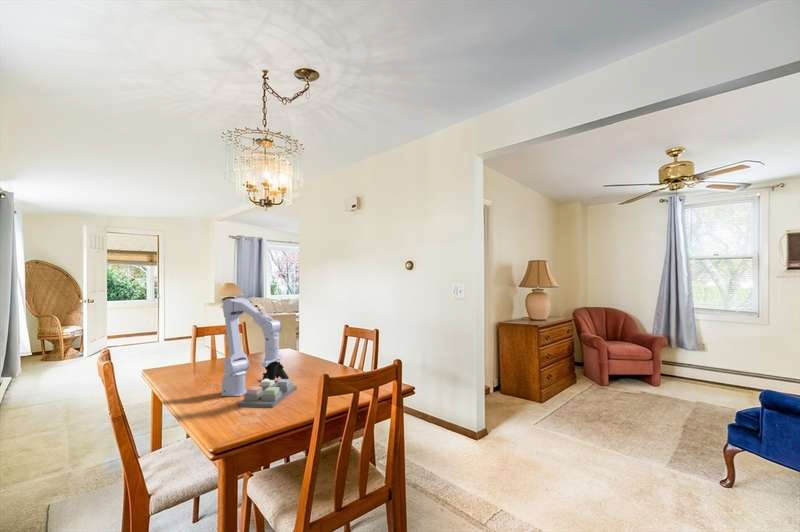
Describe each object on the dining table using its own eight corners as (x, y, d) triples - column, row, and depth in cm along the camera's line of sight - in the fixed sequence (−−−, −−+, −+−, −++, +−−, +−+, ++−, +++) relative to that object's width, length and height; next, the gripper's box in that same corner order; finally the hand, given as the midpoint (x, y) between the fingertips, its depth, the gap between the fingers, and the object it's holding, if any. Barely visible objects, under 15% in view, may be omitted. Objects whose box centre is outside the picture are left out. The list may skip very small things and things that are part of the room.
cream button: (260, 386, 170) (260, 381, 170) (265, 383, 174) (265, 378, 175) (270, 387, 169) (270, 381, 169) (274, 384, 174) (274, 378, 174)
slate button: (277, 387, 169) (277, 381, 169) (281, 384, 173) (281, 379, 174) (286, 387, 168) (286, 382, 168) (290, 384, 173) (290, 379, 173)
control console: (238, 406, 154) (238, 397, 154) (267, 387, 179) (267, 380, 179) (272, 407, 152) (272, 398, 152) (296, 388, 177) (296, 380, 177)
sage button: (264, 396, 157) (264, 390, 157) (269, 392, 162) (269, 386, 162) (274, 396, 156) (274, 390, 157) (279, 392, 161) (279, 387, 161)
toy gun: (288, 378, 189) (277, 361, 190) (269, 392, 190) (259, 376, 192) (290, 376, 191) (280, 360, 192) (272, 390, 193) (262, 374, 194)
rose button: (246, 395, 158) (246, 389, 158) (252, 392, 163) (252, 386, 163) (256, 395, 157) (256, 389, 157) (262, 392, 162) (262, 386, 162)
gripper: (273, 351, 152) (273, 384, 152) (287, 345, 166) (287, 375, 166) (256, 351, 153) (256, 384, 153) (273, 344, 167) (273, 374, 167)
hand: (272, 379), depth 159 cm, fingers closed
